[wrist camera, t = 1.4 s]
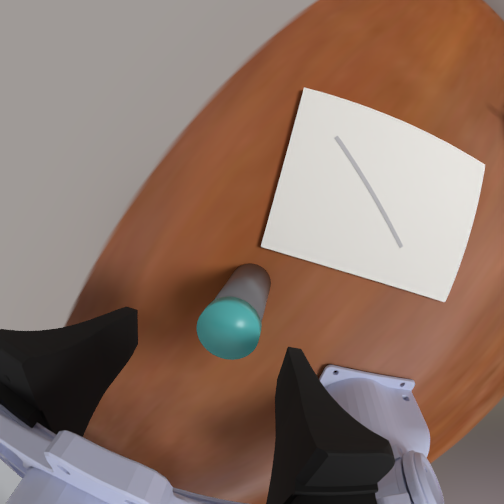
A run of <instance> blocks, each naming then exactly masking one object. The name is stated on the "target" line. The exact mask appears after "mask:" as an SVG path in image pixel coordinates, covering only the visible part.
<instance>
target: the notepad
mask: <svg viewBox="0 0 504 504" xmlns="http://www.w3.org/2000/svg"><path fill="white" fill-rule="evenodd" d="M484 170H485V165H484V164H483V163H481V162H480V161H478V160H476V159H475V158H473V157H471V156H470V155H468V154H466V153H465V152H463V151H461V150H459V149H458V148H456V147H454V146H452V145H450V144H449V143H447V142H445V141H443V140H441V139H439V138H437V137H435V136H433V135H431V134H429V133H427V132H425V131H423V130H421V129H419V128H417V127H414V126H412V125H410V124H408V123H406V122H403V121H401V120H399V119H396V118H394V117H392V116H389V115H387V114H384V113H382V112H379V111H376V110H374V109H371V108H368V107H366V106H363V105H360V104H357V103H354V102H351V101H348V100H345V99H342V98H339V97H336V96H333V95H329V94H326V93H322V92H319V91H315V90H312V89H308V88H304V90H303V94H302V97H301V101H300V105H299V108H298V112H297V116H296V120H295V123H294V127H293V131H292V134H291V138H290V142H289V145H288V149H287V153H286V156H285V160H284V164H283V167H282V171H281V175H280V178H279V182H278V186H277V189H276V193H275V197H274V200H273V204H272V207H271V211H270V215H269V218H268V222H267V225H266V229H265V233H264V236H263V240H262V243H261V247H263V248H266V249H270V250H273V251H277V252H280V253H283V254H287V255H290V256H294V257H297V258H300V259H304V260H307V261H310V262H314V263H317V264H320V265H324V266H327V267H331V268H334V269H337V270H341V271H344V272H347V273H351V274H354V275H357V276H361V277H364V278H367V279H370V280H374V281H377V282H380V283H384V284H387V285H390V286H394V287H397V288H400V289H403V290H407V291H410V292H413V293H416V294H420V295H423V296H426V297H429V298H433V299H436V300H439V301H442V302H446V299H447V297H448V295H449V292H450V290H451V287H452V285H453V282H454V280H455V277H456V274H457V272H458V269H459V266H460V263H461V260H462V257H463V255H464V251H465V248H466V245H467V242H468V239H469V235H470V232H471V228H472V225H473V221H474V217H475V213H476V209H477V205H478V201H479V196H480V191H481V186H482V181H483V176H484Z"/></svg>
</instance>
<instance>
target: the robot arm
mask: <svg viewBox="0 0 504 504" xmlns="http://www.w3.org/2000/svg"><path fill="white" fill-rule="evenodd" d="M137 345H138V324H137V310H136V309H132V308H129V307H124V308H121V309H118V310H115V311H113V312H110V313H107V314H105V315H102V316H99V317H97V318H94V319H91V320H88V321H85V322H82V323H79V324H75V325H72V326H67V327H63V328H58V329H51V330H42V331H14V330H4V329H1V330H0V459H1V460H2V461H3V462H5V463H6V464H7V465H8V466H9V467H10V468H11V469H12V470H13V471H15V472H16V473H17V474H18V475H19V476H20V477H22V478H23V479H22V480H21V482H20V483H19V485H18V486H17V487H16V489H15V490H14V492H13V493H12V495H11V496H10V498H9V499H8V501H7V502H6V504H247V503H240V502H234V501H228V500H223V499H218V498H213V497H208V496H204V495H200V494H196V493H192V492H188V491H184V490H181V489H177V488H174V487H172V486H171V484H170V483H169V481H168V480H167V478H166V477H164V476H163V475H161V474H160V473H158V472H157V471H156V470H154V469H151V468H149V467H147V466H145V465H143V464H141V463H138V462H136V461H133V460H131V459H128V458H126V457H123V456H121V455H119V454H116V453H114V452H112V451H110V450H107V449H105V448H103V447H101V446H99V445H97V444H95V443H93V442H91V441H89V440H87V439H85V438H83V435H84V432H85V430H86V428H87V425H88V423H89V421H90V419H91V417H92V415H93V413H94V411H95V409H96V407H97V405H98V403H99V401H100V400H101V398H102V396H103V394H104V393H105V391H106V390H107V388H108V387H109V386H110V384H111V383H112V382H113V381H114V379H115V378H116V377H117V375H118V374H119V373H120V371H121V370H122V369H123V367H124V366H125V365H126V363H127V362H128V361H129V359H130V358H131V356H132V354H133V352H134V350H135V349H136V347H137ZM335 370H337V372H336V373H334V371H335ZM401 383H403V384H401ZM414 386H415V382H414V380H411V379H404V378H398V377H392V376H386V375H380V374H374V373H369V372H364V371H359V370H354V369H349V368H344V367H340V366H335V365H328V366H326V367H325V368H324V370H323V372H322V374H321V376H320V378H319V379H318V377H317V376H316V374H315V372H314V371H313V369H312V367H311V366H310V364H309V362H308V360H307V359H306V357H305V355H304V353H303V351H302V350H301V349H298V348H292V347H288V348H287V352H286V355H285V358H284V361H283V364H282V367H281V370H280V373H279V376H278V379H277V386H276V395H275V418H276V442H275V451H274V460H273V467H272V474H271V480H270V486H269V492H268V497H267V502H266V504H445V503H444V498H443V494H442V491H441V488H440V485H439V482H438V480H437V478H436V475H435V473H434V471H433V469H432V467H431V465H430V463H429V461H428V460H427V455H428V452H429V447H430V434H429V430H428V427H427V425H426V422H425V420H424V418H423V416H422V413H421V411H420V409H419V407H418V405H417V402H416V400H415V398H414V396H413V394H412V392H411V390H412V389H413V387H414Z"/></svg>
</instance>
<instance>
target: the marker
mask: <svg viewBox="0 0 504 504" xmlns="http://www.w3.org/2000/svg"><path fill="white" fill-rule="evenodd" d="M270 286H271V281H270V277H269V275H268V273H267V272H266V270H265V269H264V268H262V267H261V266H259V265H256V264H244V265H242V266H240V267H238V268H237V269H236V270H235V272H234V273H233V274H232V276H231V277H230V278H229V280H228V281H227V283H226V284H225V285H224V287H223V288H222V290H221V291H220V292H219V294H218V295H217V296H216V298H215V299H214V301H212V302H211V303H210V304H209V305H208V306H207V307H206V308H205V310H204V311H203V313H202V314H201V315H200V317H199V319H198V322H197V334H198V338H199V340H200V342H201V343H202V345H203V346H204V347H205V348H206V349H207V350H208V351H209V352H210V353H212V354H213V355H215V356H218V357H220V358H224V359H231V360H233V359H240V358H243V357H245V356H247V355H249V354H250V353H251V352H253V350H254V349H255V348H256V346H257V344H258V341H259V337H260V333H261V321H262V318H263V314H264V310H265V306H266V302H267V298H268V294H269V290H270Z"/></svg>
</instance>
